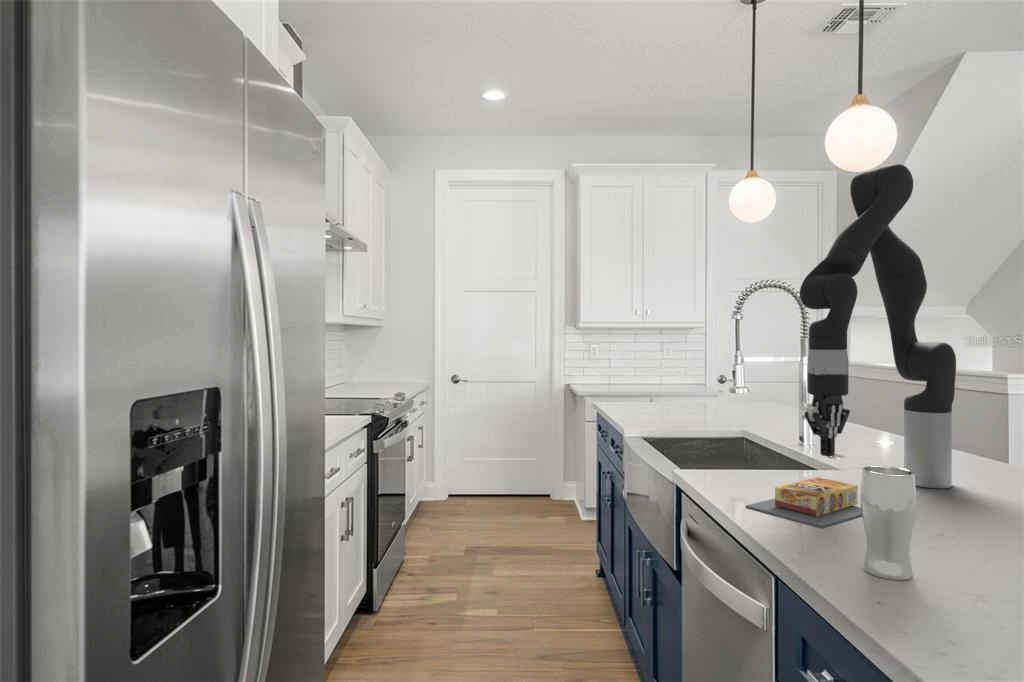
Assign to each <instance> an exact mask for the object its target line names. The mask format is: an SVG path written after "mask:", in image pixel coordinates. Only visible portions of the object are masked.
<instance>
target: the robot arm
mask: <svg viewBox="0 0 1024 682" xmlns="http://www.w3.org/2000/svg"><path fill="white" fill-rule="evenodd" d="M913 190H914V178H913V176H912V173H911V171H910V170H909V168H908V167H907V166H906V165H904V164H901V163H894V164H888V165H885V166H880V167H878V168H874V169H871V170H866V171H862V172H859V173H857V174H856V175H854V176H853V178H852V179H851V181H850V189H849V192H850V197H851V200H852V201H851V202H852V204H853V208H854V212H855V213H856V217H857V218H856V219H855V220H853V221H852V222H851V223H850V224H849V225H848V226H846V227H845V228H844V229H843V230H842V231H841V232H840V233H839V235H838V236H837V238H836V239H835V240H834V242H833V244H832V246H831V248H830V249H829V251H828V253H827V255H826V256H825V258H823V260H821V261H820V262H818V264H817V265H816V266H815V267H814V268H813V269H812V270H811V271H810V272H809V273H808V274H807V275H806V277H805V278H804V279H803V280H802V282H801V285H800V289H799V299H800V302H801V303H802V304H803V306H804V307H806V308H808V309H811V310H829V312H828V314H827V316H826V317H825V318H824V319H821V320H817V321H813V322H812V323H810V325H809V327H808V355H807V377H806V378H807V386H806V387H807V393H808V394H809V395H812V397H813V398H812V402H811V407H812V408H811V409H810V411H805V412H804V418H805V419H806V421H807V423H808V426H809V428H810V430H811V432H812V434H813V435H815V436H818V437H819V438H820V442H819V443H820V447H819V449H820V455H821V456H824V457H829V458H830V457H834V456H835V455H836V449H835V447H836V438H837V437H838V435H841V434H842V433H843V430H844V427H845V426H846V422H847V420H848V418H849V416H850V412H851V411H850V409H849V408H845V407H844V405H843V404H844V400H843V398H842V396H843V397H845V396H848V395H849V388H850V387H849V368H850V367H849V365H850V364H849V363H850V361H849V356H848V330H849V329H848V328H849V325H850V322H851V318H852V314H853V311H854V308H855V305H856V303H857V302H856V301H857V298H858V286H857V283H856V281H855V279H854V278H853V277H855V276H856V275H857V274H859V273H860V271H861V269H862V267H863V266H864V264H865V262H866V260H867V257H868V256H869V254H870V257H871V260H872V261H871V262H872V264H873V268H874V272H875V274H874V275H875V278H876V282H877V285H878V290H879V292H880V296H881V299H882V302H883V305H884V310H885V313H886V318H887V322H888V327H889V335H890V340H891V341H890V342H891V346H892V352H893V353H892V354H893V359H894V364H895V367H896V370H897V373H898V374H899V376H900V377H901V378H902V379H905V380H906V381H913V382H914V381H916V382H926V384H925V388H924V390H923V391H921V392H920V393H917V394H914V395H910V396H907V397H906V398H904V401H903V456H904V457H903V469H906V470H910V471H912V472H914V477H915V487H921V488H928V489H929V488H930V489H950V488H952V485H953V483H952V482H953V479H952V477H953V476H952V473H953V472H952V469H953V467H952V466H953V465H952V463H953V459H952V458H953V456H952V454H953V452H952V451H953V447H952V446H953V443H952V442H953V439H952V438H953V437H952V435H953V434H952V433H953V430H952V429H953V423H952V422H953V420H952V417H953V413H952V412H953V411H952V410H953V409H952V408H953V407H952V406H953V404H954V400H955V394H956V393H955V391H956V375H957V374H956V373H957V371H956V370H957V357H956V352H955V351H954V348H953V347H952V346H951V345H950V344H949V343H947V342H942V341H941V342H940V341H938V342H937V341H935V342H932V341H930V342H929V341H923V342H922V341H919V340H918V338H917V334H916V329H915V328H916V327H915V325H916V324H915V321H916V317H917V314H918V312H919V310H920V308H921V305H922V304H923V302H924V299H925V298H926V297H925V296H926V293H927V289H928V282H927V278H926V274H925V270H924V267H923V262H922V260H921V258H920V256H919V255H918V254H917V253H916V252H915V250H914V249H913V248H912V247H910V246H909V244H907V243H906V242H905V241H904V240H903V239H901V238H900V237H899V236H898V235H897V234H896V233H895V232H894V231H893V230H892V229H891V227H890V226H889V225H890V224H891V223H892V222H893V220H894V218H896V216H897V215H898V214H899V212H900V211H901V210H902V209H903V208H904V207H905V205H906V204H907V202H908V201H909V200H910V198H911V196H912V193H913Z"/></svg>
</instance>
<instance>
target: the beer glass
mask: <svg viewBox="0 0 1024 682" xmlns="http://www.w3.org/2000/svg"><path fill="white" fill-rule="evenodd" d="M916 487H917V486H915V477H914V472H912V471H910V470H906V469H904V468H901V467H894V466H884V465H868V466H863V467H862V468H861V480H860V507H861V510H862V516H861V517H862V522H863V526H864V531H865V536H866V554H865V559H864V563H863V569H864V571H865V572H866V573H868V574H869V575H872V576H874V577H876V578H881V579H885V580H891V581H909V580H911V579H912V578H913V569H912V565H911V564H912V563H911V557H910V547H911V546H910V545H911V540H912V534H913V530H914V527H915V522H916V521H915V520H916V516H917V515H916V513H917V490H916Z"/></svg>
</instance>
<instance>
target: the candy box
mask: <svg viewBox="0 0 1024 682" xmlns="http://www.w3.org/2000/svg"><path fill="white" fill-rule="evenodd" d="M858 493H859V487H858V484H854V483H848V482H843V481H839V480H833V479H829V478H823V477H819V476H816V477H811V478H807V479H803V480H799V481H795V482H791V483H787V484H783V485H779V486H775V487H774V499H775V506H777V507H781V508H785V509H789V510H793V511H797V512H801V513H804V514H808V515H812V516H816V517H818V516H821V515H824V514H827V513H830V512H834V511H837V510H840V509H843V508H846V507H850V506H857V505H858V503H859V502H858V500H859V499H858V498H859V497H858V495H859V494H858Z"/></svg>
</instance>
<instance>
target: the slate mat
mask: <svg viewBox="0 0 1024 682" xmlns="http://www.w3.org/2000/svg"><path fill="white" fill-rule="evenodd" d="M745 508H748V509H750V510H755V511H758V512H762V513H766V514H769V515H773V516H777V517H779V518H784V519H787V520H792V521H795V522H799V523H802V524H806V525H809V526H813V527H818V528H821V529H822V528H823V529H824V528H826V527H829V526H834V525H836V524H837V525H838V524H841V523H843V522H846V521H850V520H853V519H857V518H859V517H863V516H862V510H861V506H857V505H853V506H850V507H846V508H843V509H840V510H837V511H834V512H830V513H827V514H824V515H821V516H818V517H816V516H812V515H808V514H804V513H801V512H797V511H793V510H789V509H785V508H781V507H777V506H775V498H771V499H767V500H762V501H760V502H759V501H758V502H755V503H750V504H746V505H745Z"/></svg>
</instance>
